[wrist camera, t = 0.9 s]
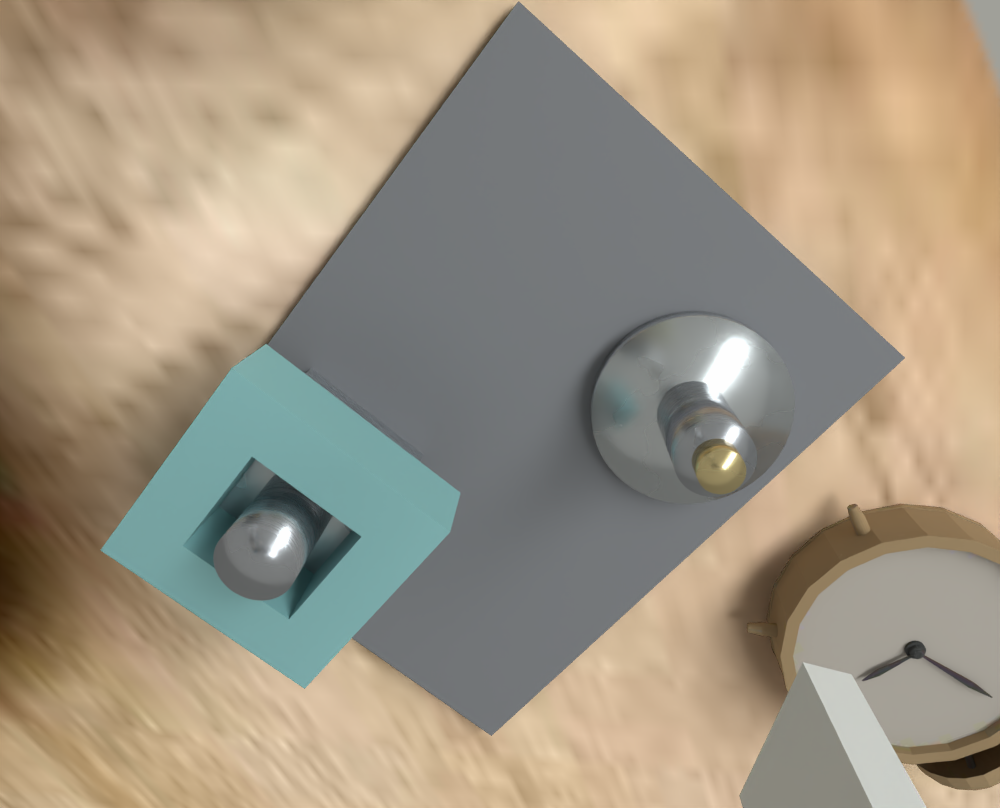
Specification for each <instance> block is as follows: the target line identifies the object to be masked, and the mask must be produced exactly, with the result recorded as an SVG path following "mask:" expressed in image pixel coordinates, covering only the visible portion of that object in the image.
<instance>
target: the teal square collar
mask: <svg viewBox="0 0 1000 808" xmlns="http://www.w3.org/2000/svg"><path fill="white" fill-rule="evenodd" d="M255 460H257V461H259V462H260V463H261V464H263V465H264V466H266V467H267V468H268V469H270V470H271V471H272V472H274V473H275V474H277V475H278V476H279V477H281V478H282V479H283V480H285V481H286V482H287V483H289V484H290V485H292V486H293V487H294V488H296V489H297V490H298V491H300V492H301V493H302V494H304V495H305V496H307V497H308V498H309V499H311V500H312V501H313V502H315V503H316V504H318V505H319V506H320V507H322V508H323V509H324V510H326V511H327V512H328V513H330V514H331V515H333V516H334V517H335V518H337V519H338V520H339V521H341V522H342V523H344V524H345V525H346V526H348V527H349V528H350V529H352V531H351V532H350V533H349V534H348V536H347V537H346V538H345V539H344V540H343V541H342V542H341V544H340V545H339V546H338V547H337V548H336V549H335V551H334V552H333V553H332V554H331V555H330V556H329V557H328V559H327V560H326V561H325V562H324V563H323V564H322V566H321V567H320V568H319V569H318V570H317V571H316V572H315V574H313V573H312V572H311V571H309V570H308V569H306V568H305V567H304V566H303V567H302V569H301V571H300V573H299V574H298V576H297V578H296V579H295V581H294V583H293V584H292V586H291V587H290V589H289V590H288V591H287V592H286V593H284V594H283V595H281V596H279V597H277V598H274V599H271V600H264V601H258V600H251V599H247V598H244V597H242V596H240V595H238V594H236V593H234V592H233V591H231V590H230V589H229V588H228V587H227V586H226V585H225V584H224V583H223V582H222V581H221V579H220V578H219V576H218V574H217V572H216V570H215V567H214V561H213V555H214V550H215V547H216V545H217V543H218V541H219V540H220V539H221V538H222V536H223V535H224V534H225V533H226V532H227V530H228V529H229V528H230V527H231V526H232V524H233V523H234V522H235V521H236V520H237V519H236V518H235V517H233V516H232V515H230V514H229V513H228V512H226V511H225V510H223V509H222V508H221V507H219V506H220V505H221V504H222V502H223V501H224V500H225V498H226V497H227V496H228V494H229V493H230V492H231V491H232V489H233V488H234V487H235V485H236V484H237V483H238V482H239V480H240V479H241V478H242V476H243V475H244V474H245V472H246V471H247V470H248V469H249V467H250V466H251V465H252V463H253V462H254V461H255ZM459 497H460V492H459V491H458V490H456V489H455V488H454V487H452V486H451V485H450V484H449V483H447V482H446V481H445V480H443V479H442V478H441V477H439V476H438V475H437V474H435V473H434V472H433V471H432V470H430V469H429V468H428V467H426V466H425V465H424V464H422V463H421V462H420V461H418V460H417V459H416V458H415V457H413V456H412V455H411V454H409V453H408V452H407V451H405V450H404V449H403V448H402V447H400V446H399V445H398V444H396V443H395V442H394V441H392V440H391V439H390V438H388V437H387V436H386V435H385V434H383V433H382V432H381V431H379V430H378V429H377V428H375V427H374V426H373V425H371V424H370V423H369V422H368V421H366V420H365V419H364V418H362V417H361V416H360V415H358V414H357V413H356V412H354V411H353V410H352V409H351V408H349V407H348V406H347V405H345V404H344V403H343V402H341V401H340V400H339V399H337V398H336V397H335V396H334V395H332V394H331V393H330V392H328V391H327V390H326V389H324V388H323V387H322V386H320V385H319V384H318V383H317V382H315V381H314V380H313V379H311V378H310V377H309V376H307V375H306V374H305V373H303V372H302V371H301V370H300V369H298V368H297V367H296V366H294V365H293V364H292V363H290V362H289V361H288V360H287V359H285V358H284V357H283V356H281V355H280V354H279V353H277V352H276V351H275V350H273V349H272V348H271V347H270V346H268V345H267V344H265V345H264V346H262V347H261V348H260V349H258V350H257V351H255V352H254V353H252V354H251V355H250V356H248V357H247V358H245V359H244V360H242V361H241V362H240V363H238V364H237V365H235V366H234V367H232V368H231V370H230V371H229V373H228V374H227V375H226V377H225V378H224V380H223V381H222V382H221V384H220V385H219V386H218V388H217V389H216V391H215V392H214V393H213V395H212V396H211V398H210V399H209V400H208V402H207V403H206V404H205V406H204V407H203V409H202V410H201V411H200V413H199V414H198V416H197V417H196V418H195V420H194V421H193V423H192V424H191V425H190V427H189V428H188V429H187V431H186V432H185V434H184V435H183V436H182V438H181V439H180V441H179V442H178V443H177V445H176V446H175V448H174V449H173V450H172V452H171V453H170V454H169V456H168V457H167V459H166V460H165V461H164V463H163V464H162V466H161V467H160V468H159V470H158V471H157V473H156V474H155V475H154V477H153V478H152V479H151V481H150V482H149V484H148V485H147V486H146V488H145V489H144V491H143V492H142V493H141V495H140V496H139V498H138V499H137V500H136V502H135V503H134V504H133V506H132V507H131V509H130V510H129V511H128V513H127V514H126V516H125V517H124V518H123V520H122V521H121V523H120V524H119V525H118V527H117V528H116V529H115V531H114V532H113V534H112V535H111V536H110V538H109V539H108V541H107V542H106V543H105V545H104V546H103V548H102V549H101V551H102V552H104V553H105V554H107V555H108V556H110V557H111V558H113V559H114V560H116V561H117V562H119V563H120V564H121V565H123V566H124V567H126V568H127V569H129V570H130V571H132V572H133V573H135V574H136V575H138V576H139V577H141V578H142V579H144V580H145V581H147V582H148V583H149V584H151V585H152V586H154V587H155V588H157V589H158V590H160V591H161V592H163V593H164V594H166V595H167V596H169V597H170V598H172V599H173V600H175V601H176V602H178V603H179V604H180V605H182V606H183V607H185V608H186V609H188V610H189V611H191V612H192V613H194V614H195V615H197V616H198V617H200V618H201V619H203V620H204V621H206V622H207V623H208V624H210V625H211V626H213V627H214V628H216V629H217V630H219V631H220V632H222V633H223V634H225V635H226V636H228V637H229V638H231V639H232V640H234V641H235V642H236V643H238V644H239V645H241V646H242V647H244V648H245V649H247V650H248V651H250V652H251V653H253V654H254V655H256V656H257V657H259V658H260V659H262V660H263V661H265V662H266V663H267V664H269V665H270V666H272V667H273V668H275V669H276V670H278V671H279V672H281V673H282V674H284V675H285V676H287V677H288V678H290V679H291V680H293V681H294V682H295V683H297V684H298V685H300V686H301V687H303V688H304V689H305V688H306V687H307V686H308V684H309V683H310V682H311V681H312V680H313V679H314V678H315V677H316V676H317V675H318V674H319V673H320V672H321V670H322V669H323V668H324V667H325V666H326V665H327V664H328V663H329V662H330V661H331V660H332V659H333V658H334V657H335V655H336V654H337V653H338V652H339V651H340V650H341V649H342V648H343V647H344V646H345V645H346V644H347V643H348V641H349V640H350V639H351V638H352V637H353V636H354V635H355V634H356V633H357V632H358V631H359V630H360V629H361V627H362V626H363V625H364V624H365V623H366V622H367V621H368V620H369V619H370V618H371V617H372V616H373V615H374V614H375V612H376V611H377V610H378V609H379V608H380V607H381V606H382V605H383V604H384V603H385V602H386V601H387V600H388V598H389V597H390V596H391V595H392V594H393V593H394V592H395V591H396V590H397V589H398V588H399V587H400V586H401V584H402V583H403V582H404V581H405V580H406V579H407V578H408V577H409V576H410V575H411V574H412V573H413V572H414V570H415V569H416V568H417V567H418V566H419V565H420V564H421V563H422V562H423V561H424V560H425V559H426V558H427V557H428V555H429V554H430V553H431V552H432V551H433V550H434V549H435V548H436V547H437V546H438V545H439V544H440V543H441V541H442V540H443V539H444V538H445V537H446V536H447V535H448V534H449V533H450V531H451V527H452V523H453V520H454V516H455V512H456V508H457V504H458V501H459Z"/></svg>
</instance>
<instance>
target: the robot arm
mask: <svg viewBox="0 0 1000 808" xmlns="http://www.w3.org/2000/svg"><path fill="white" fill-rule="evenodd" d="M739 796H740V799H741V803H742V806H743V808H926V806H925V804H924V802H923V800H922V799H921V797H920V795H919V793H918V792H917V790H916V788H915V786H914V784H913V783H912V781H911V779H910V777H909V776H908V774H907V772H906V770H905V768H904V767H903V765H902V763H901V761H900V760H899V758H898V756H897V754H896V752H895V751H894V749H893V747H892V745H891V744H890V742H889V740H888V738H887V736H886V735H885V733H884V731H883V729H882V727H881V726H880V724H879V722H878V720H877V719H876V717H875V715H874V713H873V711H872V710H871V708H870V706H869V704H868V703H867V701H866V699H865V697H864V695H863V694H862V692H861V690H860V688H859V687H858V685H857V683H856V681H855V679H854V678H853V676H852V674H848V673H844V672H840V671H836V670H832V669H828V668H824V667H820V666H816V665H812V664H808V663H804V662H803V663H802V665H801V667H800V669H799V671H798V673H797V675H796V678H795V680H794V682H793V684H792V686H791V688H790V690H789V692H788V694H787V696H786V699H785V701H784V703H783V705H782V707H781V709H780V711H779V713H778V715H777V718H776V720H775V722H774V724H773V726H772V728H771V730H770V732H769V734H768V736H767V739H766V741H765V743H764V745H763V747H762V749H761V751H760V753H759V755H758V758H757V760H756V762H755V764H754V766H753V768H752V770H751V772H750V774H749V776H748V779H747V781H746V783H745V785H744V787H743V789H742V791H741V793H740V795H739Z"/></svg>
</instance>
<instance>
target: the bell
mask: <svg viewBox="0 0 1000 808" xmlns="http://www.w3.org/2000/svg"><path fill="white" fill-rule="evenodd" d="M794 411H795V397H794V390H793V385H792V381H791V378H790V375H789V372H788V370H787V368H786V366H785V364H784V362H783V360H782V359H781V357H780V356H779V355H778V353H777V352H776V351H775V349H774V348H773V347H772V346H771V345H770V344H769V343H768V342H767V341H766V340H765V339H764V338H763V337H762V336H760V335H759V334H758V333H757V332H755V331H754V330H753V329H752V328H750V327H749V326H747V325H745V324H744V323H742V322H740V321H738V320H736V319H733V318H731V317H728V316H726V315H722V314H718V313H714V312H705V311H684V312H677V313H671V314H668V315H664V316H660V317H658V318H655V319H653V320H650V321H648V322H646V323H644V324H642V325H641V326H639V327H637V328H635V329H634V330H633V331H631V332H630V333H629V334H627V335H626V336H625V337H624V338H623V339H622V340H621V341H619V342H618V343H617V344H616V345H615V347H614V348H613V349H612V350H611V351H610V353H609V354H608V355H607V357H606V358H605V360H604V362H603V363H602V365H601V367H600V369H599V371H598V373H597V376H596V378H595V382H594V385H593V388H592V395H591V408H590V413H591V420H592V428H593V434H594V438H595V441H596V445H597V447H598V449H599V451H600V454H601V456H602V457H603V459H604V461H605V462H606V464H607V465H608V467H609V468H610V469H611V470H612V471H613V473H614V474H615V475H616V476H617V477H618V478H620V479H621V480H622V481H623V482H624V483H625V484H627V485H628V486H630V487H631V488H632V489H634V490H636V491H638V492H640V493H642V494H644V495H646V496H649V497H651V498H654V499H657V500H661V501H665V502H671V503H679V504H694V503H703V502H709V501H713V500H717V499H721V498H723V497H726V496H729V495H731V494H734V493H736V492H738V491H740V490H742V489H743V488H745V487H747V486H748V485H750V484H751V483H753V482H754V481H755V480H756V479H758V478H759V477H760V476H761V475H763V474H764V473H765V472H766V470H767V469H768V468H769V467H770V466H771V465H772V464H773V463H774V461H775V460H776V459H777V457H778V456H779V455H780V453H781V451H782V449H783V448H784V446H785V444H786V442H787V439H788V437H789V434H790V432H791V428H792V424H793V420H794Z"/></svg>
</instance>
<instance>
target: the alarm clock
mask: <svg viewBox="0 0 1000 808" xmlns="http://www.w3.org/2000/svg"><path fill="white" fill-rule="evenodd" d="M847 508H848V513H849V517H847V518H845V519H843V520H841V521H839V522H837V523H835V524H833V525H831V526H829V527H826V528H824V529H822V530H821V531H820V532H818V533H817V534H816V535H815V536H814V537H813V538H812V539H810V540H809V541H808V542H807V543H806V544H805V545H804V546H802V547H801V548H800V549H799V550H798V551H797V552H796V553H794V554H793V555H792V556H791V558H790V560H789V561H788V563H787V565H786V566H785V568H784V570H783V571H782V573H781V574H780V576H779V578H778V579H777V581H776V583H775V584H774V586H773V590H772V595H771V600H770V604H769V609H768V614H767V623H766V622H756V623H748V624H747V632H749V633H753V634H756V635H760V636H767V637H770V639H771V645H772V650H773V652H774V654H775V655H776V657H777V660H778V663H779V666H780V669H781V671H782V674H783V677H784V682H785V687H786V689H787V691H788V692H789V690H790V688H791V686H792V684H793V682H794V680H795V678H796V675H797V673H798V671H799V669H800V667H801V665H802V663H803V662H804V663H808V664H812V665H816V666H820V667H824V668H828V669H832V670H836V671H840V672H844V673H848V674H852V676H853V678H854V679H855V681H856V683H857V685H858V687H859V688H860V690H861V692H862V694H863V695H864V697H865V699H866V701H867V703H868V704H869V706H870V708H871V710H872V711H873V713H874V715H875V717H876V719H877V720H878V722H879V724H880V726H881V727H882V729H883V731H884V733H885V735H886V736H887V738H888V740H889V742H890V744H891V745H892V747H893V749H894V751H895V752H896V754H897V756H898V758H899V760H900V761H901V763H906V764H916V765H917V766H918V767H919V769H920V770H921V771H922V772H924V773H925V774H926V775H928V776H929V777H931V778H932V779H934V780H935V781H937V782H938V783H940V784H942V785H945V786H948V787H952V788H955V789H961V790H980V789H985V788H990V787H992V786H994V785H996V784H998V783H1000V540H999V539H997V538H996V537H995V536H994V535H993V534H992V533H991V532H989V531H988V530H987V529H986V528H985V527H984V526H983V525H981V524H980V523H978V522H976V521H973V520H971V519H968V518H966V517H964V516H961V515H959V514H956V513H954V512H951V511H949V510H947V509H944V508H940V507H930V506H920V505H908V504H898V505H892V506H887V507H882V508H877V509H872V510H866V511H861V510H860V508H859V507H858V506H857V504H852V505H849V506H848V507H847Z"/></svg>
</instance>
